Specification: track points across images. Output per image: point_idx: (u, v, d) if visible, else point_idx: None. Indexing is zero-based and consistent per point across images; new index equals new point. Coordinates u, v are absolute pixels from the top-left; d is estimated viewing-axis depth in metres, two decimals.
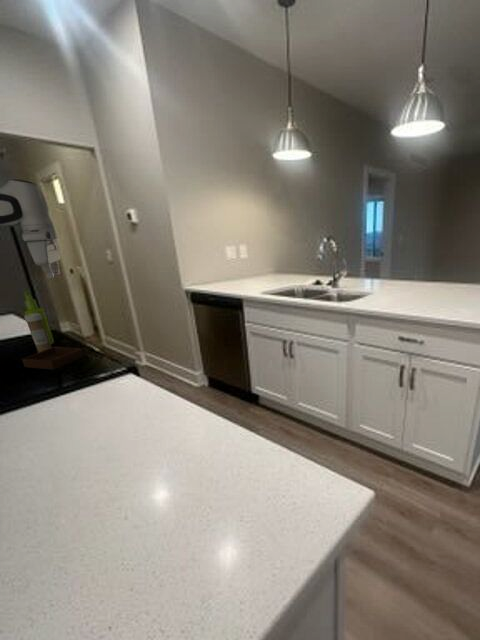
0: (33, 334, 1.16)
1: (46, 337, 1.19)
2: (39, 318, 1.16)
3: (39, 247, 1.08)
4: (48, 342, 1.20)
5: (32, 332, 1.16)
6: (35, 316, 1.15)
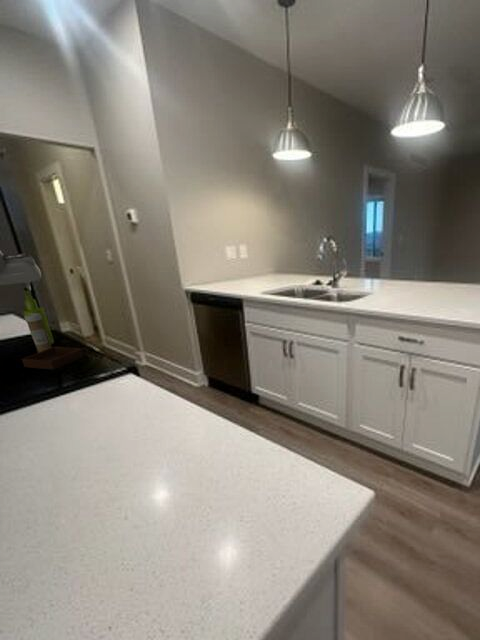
0: (33, 334, 1.16)
1: (46, 337, 1.19)
2: (39, 318, 1.16)
3: None
4: (48, 342, 1.20)
5: (32, 332, 1.16)
6: (35, 316, 1.15)
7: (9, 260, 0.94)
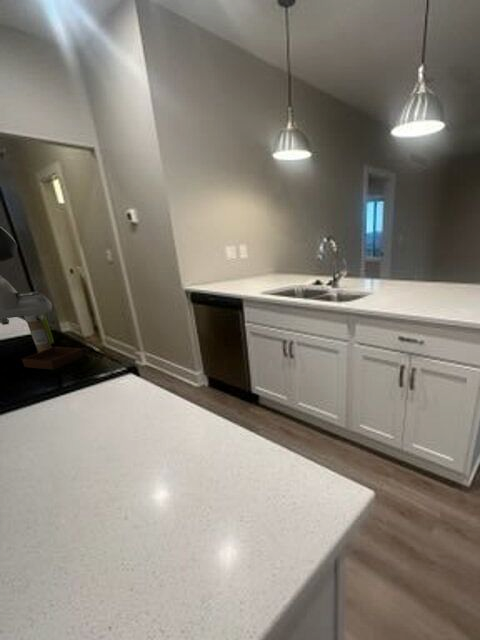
0: (33, 334, 1.16)
1: (46, 337, 1.19)
2: None
3: None
4: (48, 342, 1.20)
5: (32, 332, 1.16)
6: (35, 316, 1.15)
7: (21, 297, 1.00)
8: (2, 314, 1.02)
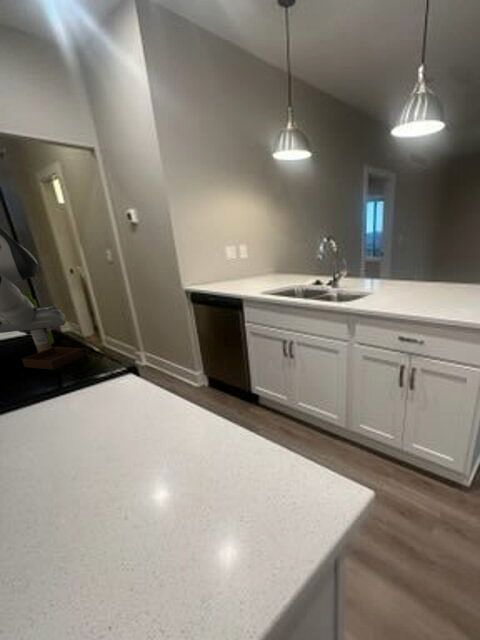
0: (33, 334, 1.16)
1: (46, 337, 1.19)
2: None
3: None
4: (48, 342, 1.20)
5: (32, 332, 1.16)
6: None
7: (38, 311, 1.09)
8: (20, 326, 1.11)
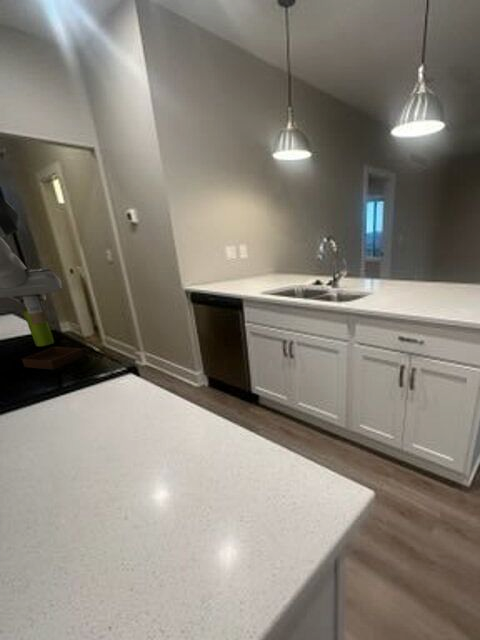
0: (25, 301, 1.05)
1: (40, 305, 1.08)
2: None
3: None
4: (43, 311, 1.08)
5: (25, 299, 1.05)
6: None
7: (31, 273, 0.98)
8: (11, 291, 1.00)
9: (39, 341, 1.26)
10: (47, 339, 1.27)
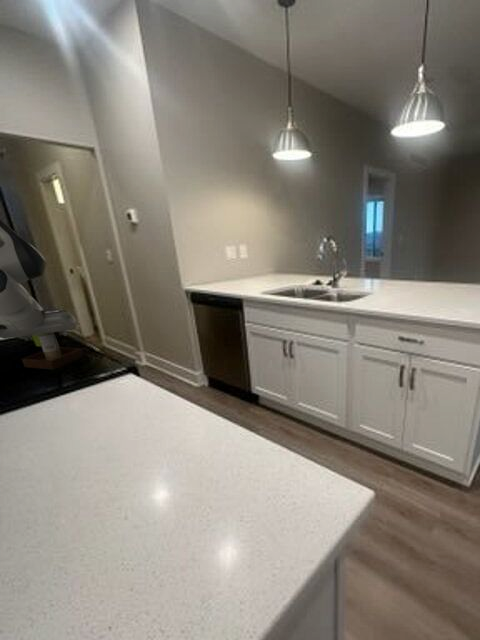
0: (41, 340, 1.06)
1: (55, 344, 1.09)
2: None
3: None
4: (57, 349, 1.10)
5: (40, 338, 1.06)
6: None
7: (47, 314, 0.99)
8: (27, 331, 1.01)
9: (39, 341, 1.26)
10: None
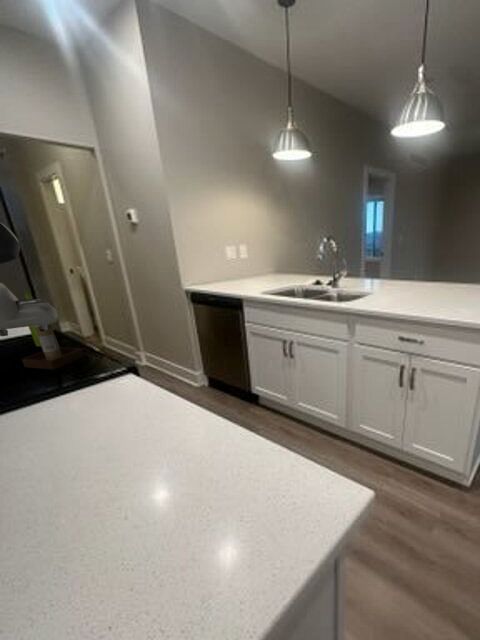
0: (41, 340, 1.06)
1: (55, 344, 1.09)
2: None
3: None
4: (57, 349, 1.10)
5: (40, 338, 1.06)
6: None
7: (22, 305, 0.85)
8: (0, 325, 0.88)
9: (39, 341, 1.26)
10: None
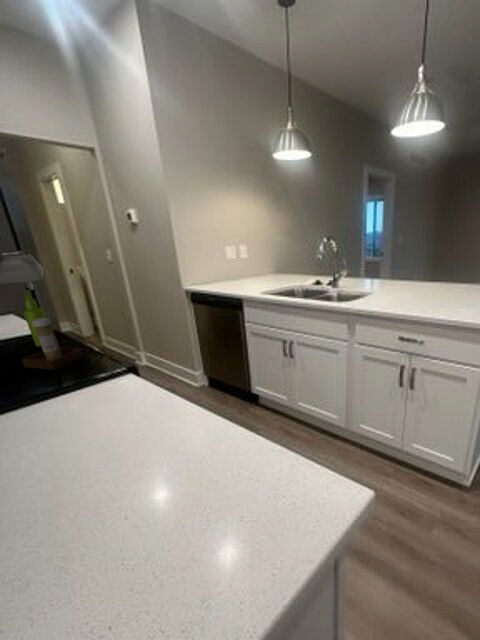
0: (41, 340, 1.06)
1: (55, 344, 1.09)
2: (48, 323, 1.06)
3: None
4: (57, 349, 1.10)
5: (40, 338, 1.06)
6: (44, 321, 1.05)
7: (5, 257, 0.81)
8: None
9: (39, 341, 1.26)
10: None
